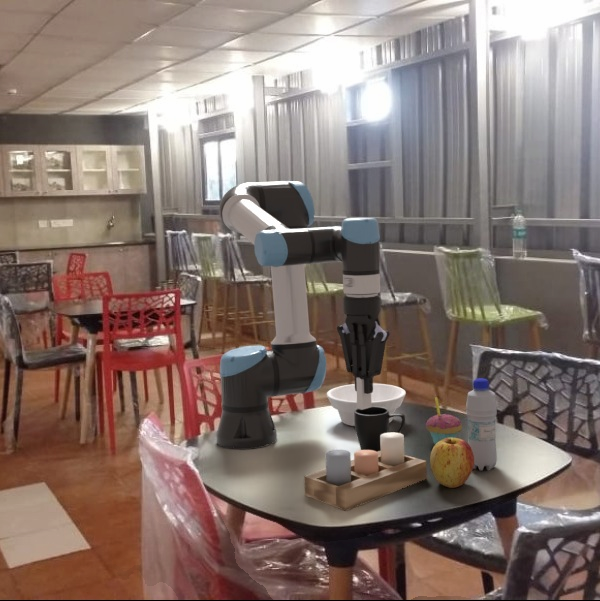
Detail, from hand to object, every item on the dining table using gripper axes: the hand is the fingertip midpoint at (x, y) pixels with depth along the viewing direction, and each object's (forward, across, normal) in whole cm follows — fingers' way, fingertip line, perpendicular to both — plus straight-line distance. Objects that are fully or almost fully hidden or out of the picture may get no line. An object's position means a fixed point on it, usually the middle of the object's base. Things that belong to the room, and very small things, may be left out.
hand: (364, 407), depth 170 cm
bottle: (+17, +10, +26) cm, 33 cm away
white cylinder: (+14, 0, +8) cm, 16 cm away
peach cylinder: (+16, 0, 0) cm, 16 cm away
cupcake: (+17, -7, +34) cm, 39 cm away
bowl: (+18, -34, +35) cm, 52 cm away
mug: (+17, -15, +20) cm, 30 cm away
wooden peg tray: (+17, 0, 0) cm, 17 cm away
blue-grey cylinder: (+14, 0, -8) cm, 16 cm away
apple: (+17, +12, +13) cm, 25 cm away
